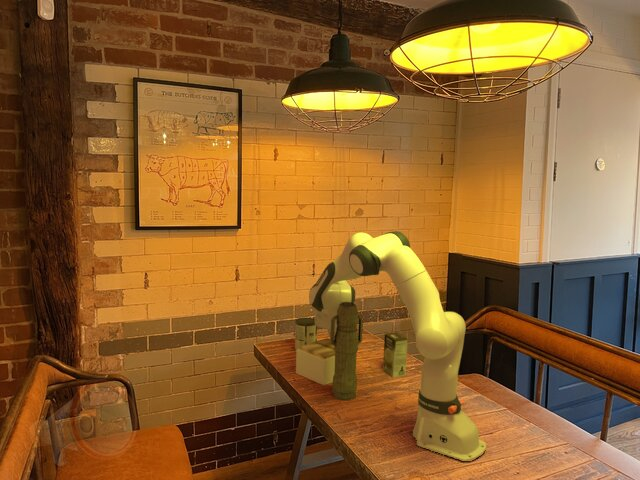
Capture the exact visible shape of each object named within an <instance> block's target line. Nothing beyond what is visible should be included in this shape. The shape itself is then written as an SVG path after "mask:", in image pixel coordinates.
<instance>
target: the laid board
mask: <svg viewBox="0 0 640 480" xmlns="http://www.w3.org/2000/svg"><path fill="white" fill-rule="evenodd" d="M300 350H302V351H305V352H308V353H310V354H313V355H315V356H318V357H320V358H323V359H327V358H330V357H333V356H335V350H334V349H332V348H329V347H326V346H324V345H321V344H318V343H315V342H313V343H310V344H306V345H303V346H300Z"/></svg>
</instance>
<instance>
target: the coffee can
mask: <svg viewBox="0 0 640 480" xmlns="http://www.w3.org/2000/svg"><path fill="white" fill-rule="evenodd" d="M294 323H295V330H294V331H295V333H294V335H295V336H294V338H295V339H294V345H295V347H294V351H295V352H296V350H297V349H300V346H303V345H306V344H310V343H313V342H315V343H316V341H318V326H316V325H315V317H314V318H313V317H300V318H297V319H295V321H294Z"/></svg>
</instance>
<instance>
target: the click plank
mask: <svg viewBox="0 0 640 480" xmlns="http://www.w3.org/2000/svg"><path fill="white" fill-rule="evenodd" d="M316 343H318V344H321V345H324V346H326V347H329V348H332V349H334V345H332V344H331V340H330V337H325V338H323V339H320V340H317V341H316Z"/></svg>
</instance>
